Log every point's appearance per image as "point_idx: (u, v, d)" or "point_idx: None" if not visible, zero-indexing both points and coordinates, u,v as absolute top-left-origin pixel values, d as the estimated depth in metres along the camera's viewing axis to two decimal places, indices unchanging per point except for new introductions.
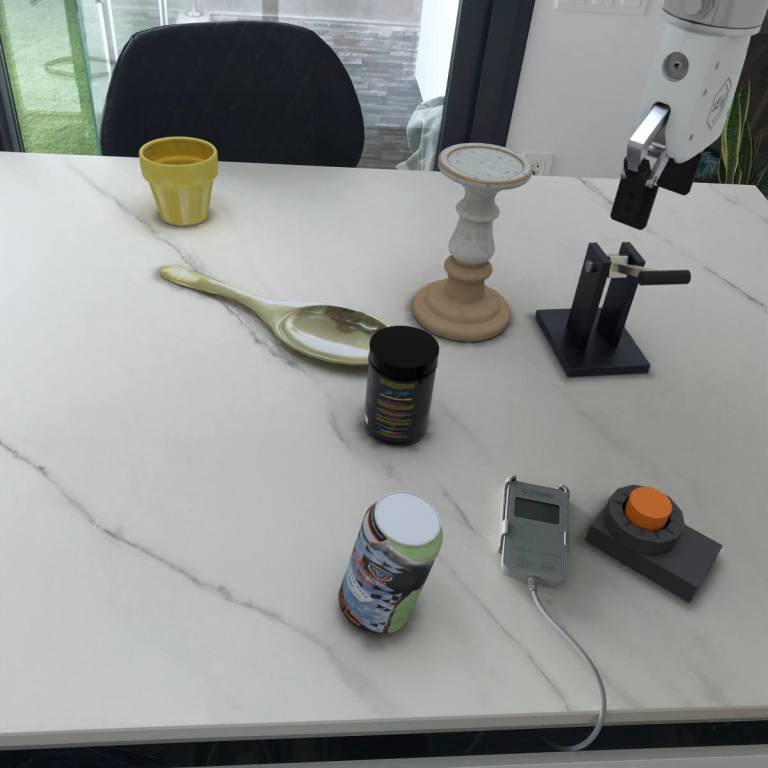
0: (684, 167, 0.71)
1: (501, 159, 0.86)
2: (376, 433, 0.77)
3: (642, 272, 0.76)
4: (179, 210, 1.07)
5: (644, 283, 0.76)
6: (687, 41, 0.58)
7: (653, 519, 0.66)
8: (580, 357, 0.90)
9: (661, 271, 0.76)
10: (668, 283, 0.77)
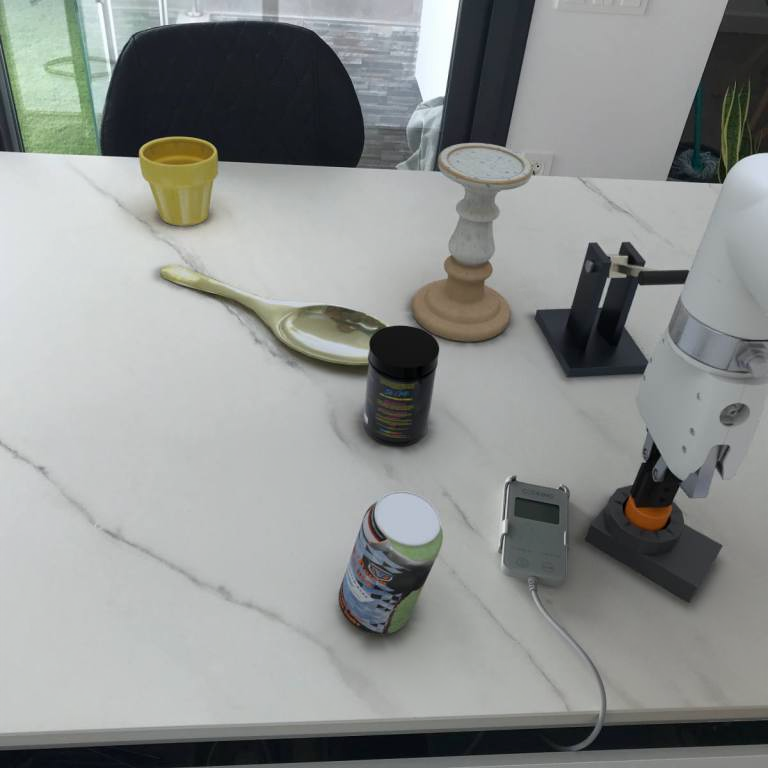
0: None
1: (502, 159, 0.86)
2: (376, 433, 0.77)
3: (642, 272, 0.76)
4: (179, 210, 1.07)
5: (644, 283, 0.76)
6: (746, 392, 0.54)
7: (653, 520, 0.66)
8: (580, 357, 0.90)
9: (661, 271, 0.76)
10: (668, 283, 0.77)
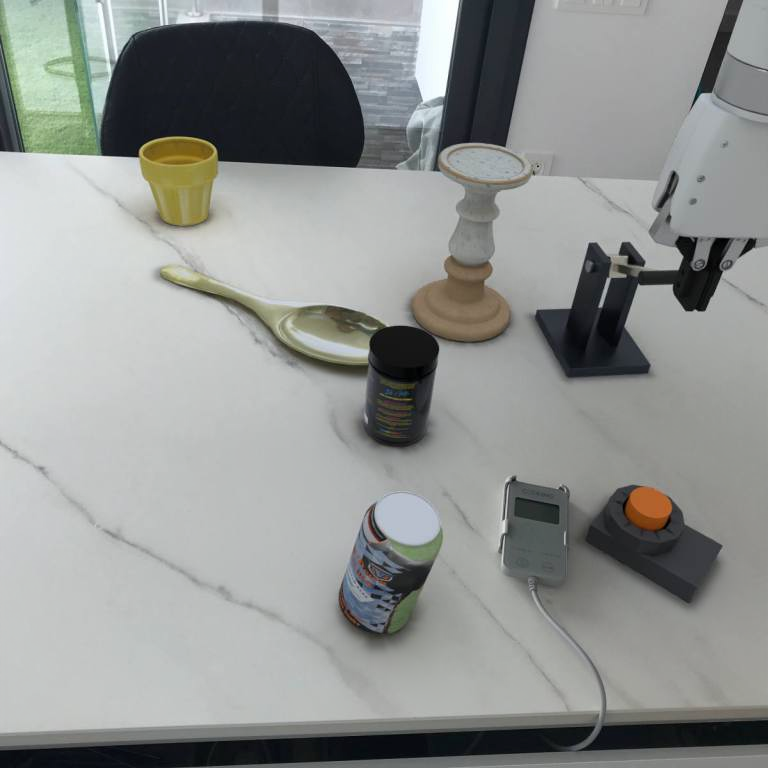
0: None
1: (502, 159, 0.86)
2: (376, 433, 0.77)
3: (642, 272, 0.76)
4: (179, 210, 1.07)
5: (644, 283, 0.76)
6: None
7: (653, 519, 0.66)
8: (580, 357, 0.90)
9: (661, 271, 0.76)
10: (668, 283, 0.77)
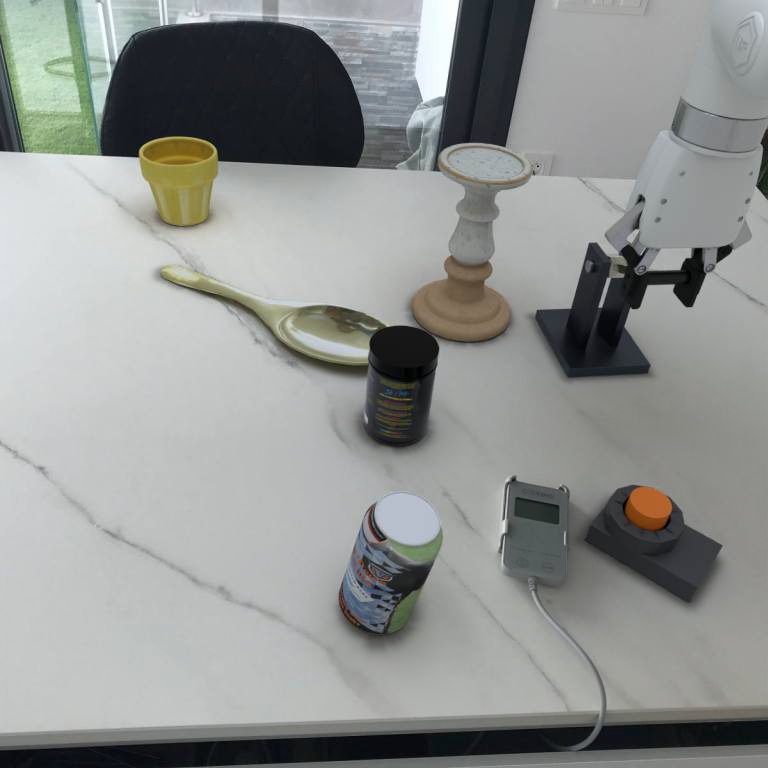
0: None
1: (502, 159, 0.86)
2: (376, 433, 0.77)
3: None
4: (179, 210, 1.07)
5: None
6: None
7: (653, 519, 0.66)
8: (580, 357, 0.90)
9: (661, 271, 0.76)
10: (668, 283, 0.77)
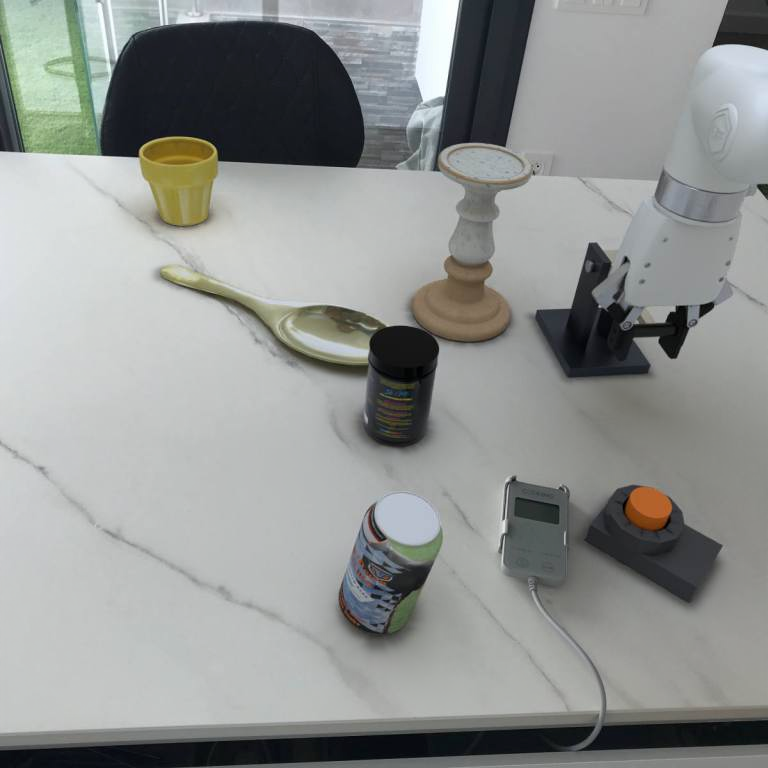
0: None
1: (502, 159, 0.86)
2: (376, 433, 0.77)
3: None
4: (179, 210, 1.07)
5: None
6: None
7: (653, 519, 0.66)
8: (580, 357, 0.90)
9: (650, 327, 0.79)
10: (653, 336, 0.80)
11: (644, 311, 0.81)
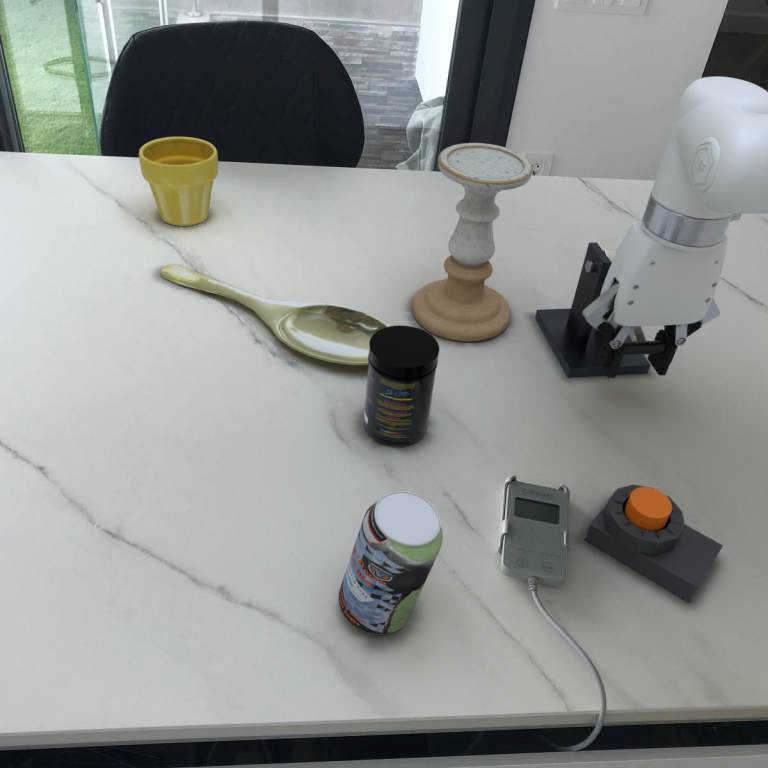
0: None
1: (502, 159, 0.86)
2: (376, 433, 0.77)
3: None
4: (179, 210, 1.07)
5: None
6: None
7: (653, 519, 0.66)
8: (580, 357, 0.90)
9: (640, 346, 0.81)
10: None
11: (637, 326, 0.83)
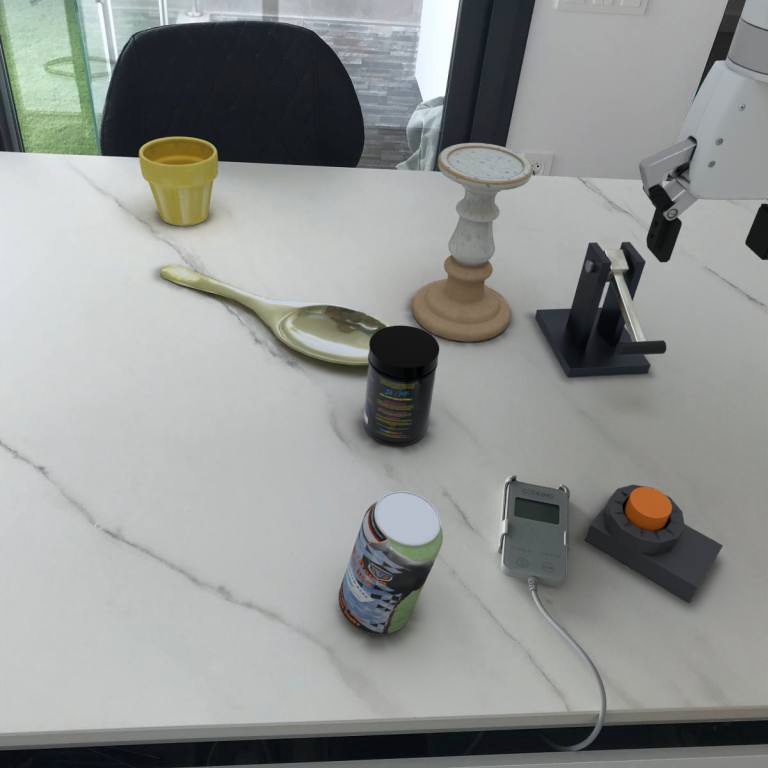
0: None
1: (502, 159, 0.86)
2: (376, 433, 0.77)
3: (621, 347, 0.81)
4: (179, 210, 1.07)
5: (620, 355, 0.82)
6: None
7: (653, 519, 0.66)
8: (580, 357, 0.90)
9: (640, 347, 0.81)
10: None
11: (637, 326, 0.83)
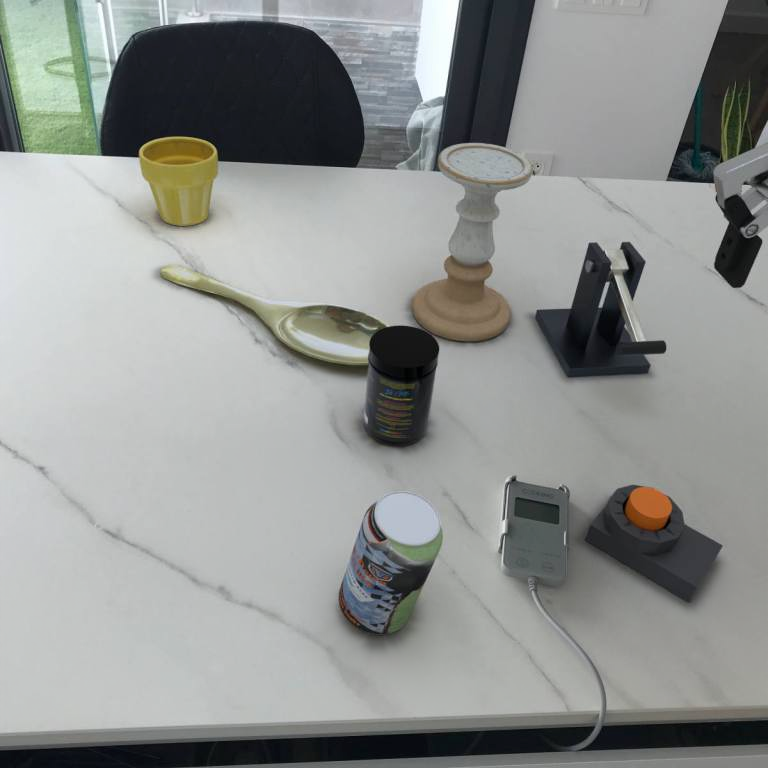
0: None
1: (502, 159, 0.86)
2: (376, 433, 0.77)
3: (621, 347, 0.81)
4: (179, 210, 1.07)
5: (620, 355, 0.82)
6: None
7: (653, 519, 0.66)
8: (580, 357, 0.90)
9: (640, 347, 0.81)
10: None
11: (637, 326, 0.83)
